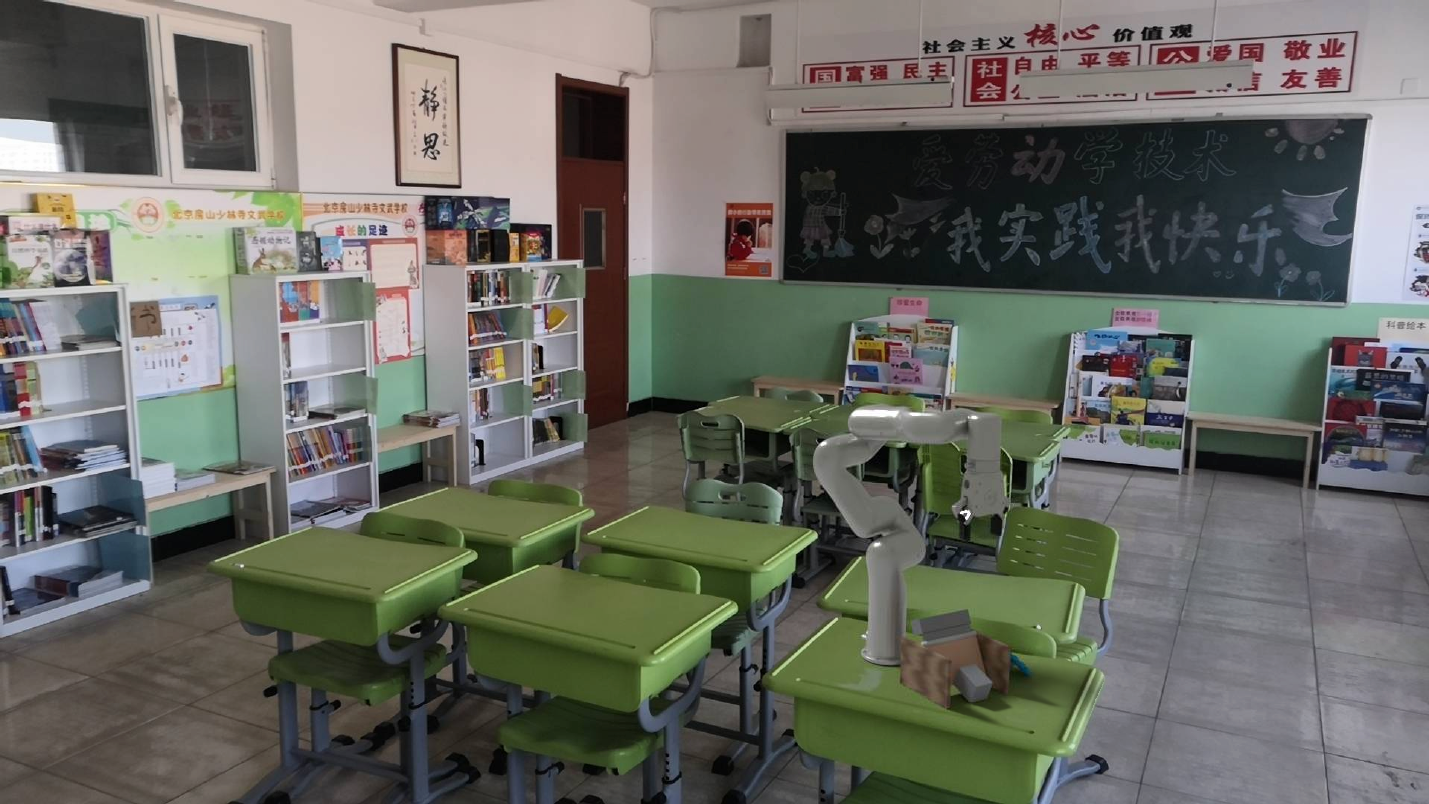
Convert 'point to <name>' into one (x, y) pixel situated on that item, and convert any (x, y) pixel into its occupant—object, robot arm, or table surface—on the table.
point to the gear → (1019, 664)
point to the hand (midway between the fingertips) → (980, 537)
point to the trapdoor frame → (934, 670)
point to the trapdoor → (950, 639)
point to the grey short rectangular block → (972, 683)
